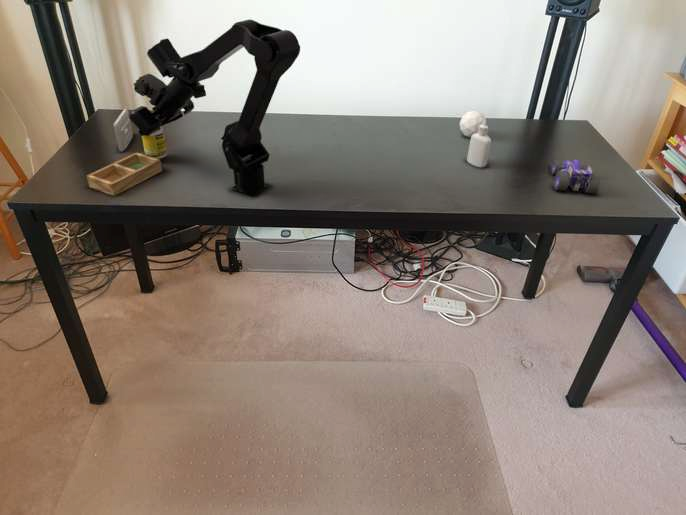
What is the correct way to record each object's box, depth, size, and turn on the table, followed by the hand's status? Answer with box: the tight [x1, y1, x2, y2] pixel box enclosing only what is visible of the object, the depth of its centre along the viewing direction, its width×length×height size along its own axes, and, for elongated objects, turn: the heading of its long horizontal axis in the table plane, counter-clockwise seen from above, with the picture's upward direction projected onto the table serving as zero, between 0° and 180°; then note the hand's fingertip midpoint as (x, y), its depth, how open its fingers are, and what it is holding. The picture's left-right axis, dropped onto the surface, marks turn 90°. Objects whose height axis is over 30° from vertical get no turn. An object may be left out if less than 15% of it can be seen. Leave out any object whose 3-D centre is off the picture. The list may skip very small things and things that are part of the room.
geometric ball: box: [459, 110, 488, 139], centre depth 157 cm, size 8×8×8 cm
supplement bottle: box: [141, 126, 168, 160], centre depth 134 cm, size 5×5×10 cm
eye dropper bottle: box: [466, 120, 492, 168], centre depth 140 cm, size 4×6×12 cm
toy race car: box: [550, 159, 601, 195], centre depth 135 cm, size 10×15×6 cm, turn 172°
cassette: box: [113, 108, 134, 153], centre depth 143 cm, size 12×2×8 cm, turn 5°
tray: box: [86, 152, 163, 197], centre depth 127 cm, size 8×15×3 cm, turn 152°
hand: (147, 130), depth 133 cm, fingers closed on supplement bottle, 5 cm apart
